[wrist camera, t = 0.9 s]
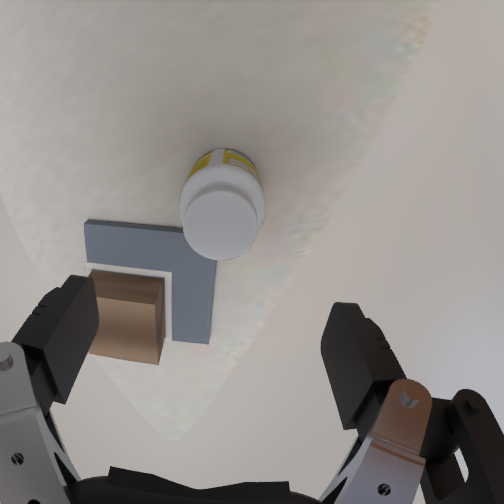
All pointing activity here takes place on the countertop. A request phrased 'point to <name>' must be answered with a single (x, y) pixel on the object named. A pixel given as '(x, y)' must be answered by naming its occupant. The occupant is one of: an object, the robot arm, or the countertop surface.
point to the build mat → (158, 271)
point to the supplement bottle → (222, 205)
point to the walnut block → (129, 317)
